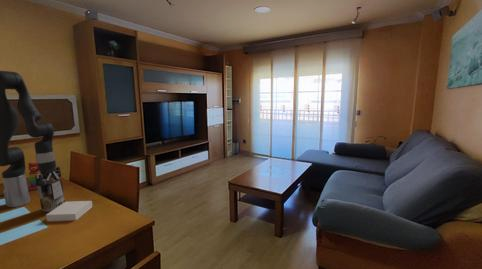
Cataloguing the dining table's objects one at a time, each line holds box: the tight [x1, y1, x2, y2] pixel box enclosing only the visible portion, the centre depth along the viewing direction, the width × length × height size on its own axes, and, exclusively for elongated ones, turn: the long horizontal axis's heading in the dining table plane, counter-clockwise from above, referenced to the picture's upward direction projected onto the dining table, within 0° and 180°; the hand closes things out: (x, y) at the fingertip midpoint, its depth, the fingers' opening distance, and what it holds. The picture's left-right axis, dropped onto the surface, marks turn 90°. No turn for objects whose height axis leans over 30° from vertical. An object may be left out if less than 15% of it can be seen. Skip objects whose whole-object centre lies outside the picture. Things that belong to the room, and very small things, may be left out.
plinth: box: [45, 200, 93, 222], centre depth 120 cm, size 14×14×4 cm
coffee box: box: [37, 178, 66, 213], centre depth 124 cm, size 9×6×16 cm
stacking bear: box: [27, 161, 46, 192], centre depth 153 cm, size 11×10×18 cm
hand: (51, 188), depth 123 cm, fingers open, 8 cm apart
